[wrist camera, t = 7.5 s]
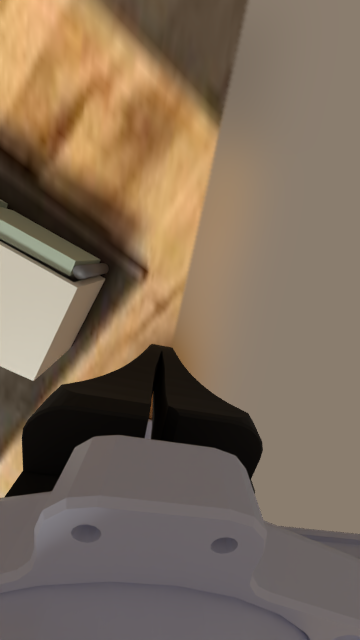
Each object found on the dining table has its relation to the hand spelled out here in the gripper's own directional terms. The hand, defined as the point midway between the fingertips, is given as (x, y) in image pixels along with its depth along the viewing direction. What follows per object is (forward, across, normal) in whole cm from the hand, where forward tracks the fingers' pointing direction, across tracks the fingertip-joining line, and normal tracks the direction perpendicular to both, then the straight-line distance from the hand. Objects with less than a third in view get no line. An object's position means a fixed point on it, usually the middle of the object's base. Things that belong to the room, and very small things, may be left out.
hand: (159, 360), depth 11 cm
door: (+9, +10, -5) cm, 15 cm away
